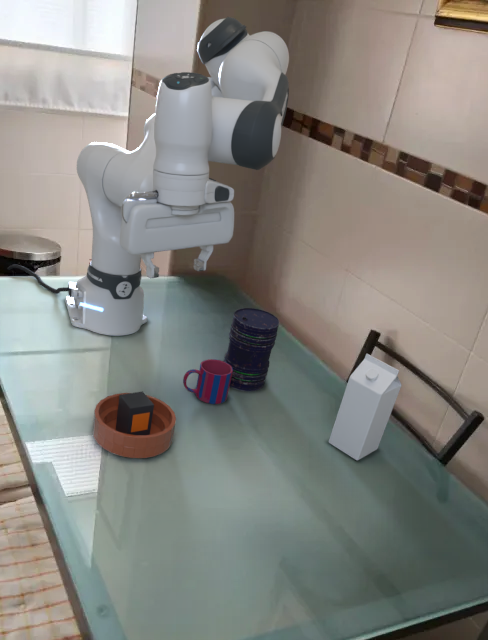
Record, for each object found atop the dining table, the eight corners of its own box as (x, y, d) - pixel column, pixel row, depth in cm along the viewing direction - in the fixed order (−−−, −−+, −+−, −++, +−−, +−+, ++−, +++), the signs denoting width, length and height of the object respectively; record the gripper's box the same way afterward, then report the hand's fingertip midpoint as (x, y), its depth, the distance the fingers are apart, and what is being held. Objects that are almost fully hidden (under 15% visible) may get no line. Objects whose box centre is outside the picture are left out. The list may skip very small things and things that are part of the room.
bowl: (81, 420, 120) (83, 397, 118) (152, 410, 127) (155, 388, 125) (109, 467, 110) (112, 443, 108) (185, 453, 117) (189, 430, 115)
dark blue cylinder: (252, 367, 149) (266, 307, 141) (272, 390, 142) (288, 327, 134) (213, 369, 145) (225, 308, 137) (231, 393, 138) (245, 329, 130)
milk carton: (348, 432, 133) (376, 349, 123) (377, 450, 129) (409, 366, 119) (327, 442, 128) (355, 357, 118) (357, 461, 124) (388, 375, 114)
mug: (230, 404, 134) (236, 375, 130) (183, 404, 131) (188, 374, 127) (222, 387, 139) (227, 359, 136) (176, 386, 136) (181, 358, 133)
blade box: (115, 429, 119) (119, 394, 115) (138, 425, 121) (142, 391, 117) (126, 444, 116) (130, 408, 112) (149, 439, 118) (154, 404, 114)
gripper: (132, 198, 97) (131, 287, 104) (242, 189, 107) (235, 271, 114) (112, 188, 101) (113, 275, 108) (220, 181, 111) (214, 261, 118)
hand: (176, 273), depth 111 cm, fingers open, 8 cm apart
